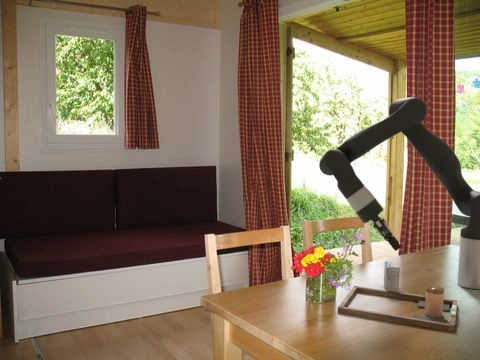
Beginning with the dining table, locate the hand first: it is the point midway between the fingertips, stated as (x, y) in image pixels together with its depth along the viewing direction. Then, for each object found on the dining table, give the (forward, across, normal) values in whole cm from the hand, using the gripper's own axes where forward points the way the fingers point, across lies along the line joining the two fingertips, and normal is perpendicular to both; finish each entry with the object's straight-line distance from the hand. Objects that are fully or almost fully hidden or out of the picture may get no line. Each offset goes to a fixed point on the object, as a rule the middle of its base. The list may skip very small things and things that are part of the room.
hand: (397, 247), depth 156 cm
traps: (+21, -1, +4) cm, 22 cm away
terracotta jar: (+22, -2, +4) cm, 22 cm away
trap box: (+15, 0, +11) cm, 19 cm away
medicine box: (+13, +20, +11) cm, 26 cm away
